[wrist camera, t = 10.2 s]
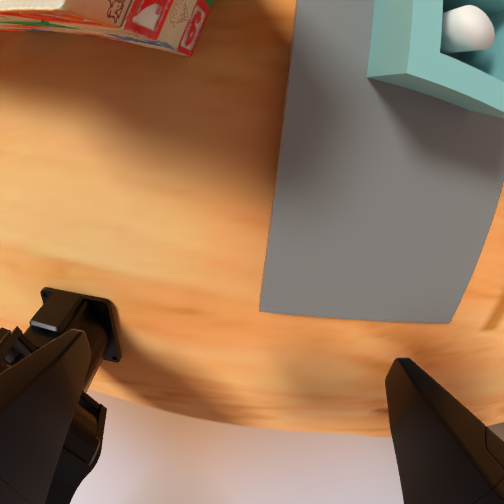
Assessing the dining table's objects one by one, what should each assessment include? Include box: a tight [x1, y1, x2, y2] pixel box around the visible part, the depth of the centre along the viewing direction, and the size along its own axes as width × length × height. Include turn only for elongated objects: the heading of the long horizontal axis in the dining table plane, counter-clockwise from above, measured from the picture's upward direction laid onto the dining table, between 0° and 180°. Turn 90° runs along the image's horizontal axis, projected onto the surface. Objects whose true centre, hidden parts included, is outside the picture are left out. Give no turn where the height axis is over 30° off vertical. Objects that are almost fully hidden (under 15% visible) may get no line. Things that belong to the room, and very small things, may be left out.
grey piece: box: [259, 0, 504, 323], centre depth 13 cm, size 24×14×6 cm, turn 174°
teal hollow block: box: [367, 0, 504, 119], centre depth 10 cm, size 6×6×5 cm
